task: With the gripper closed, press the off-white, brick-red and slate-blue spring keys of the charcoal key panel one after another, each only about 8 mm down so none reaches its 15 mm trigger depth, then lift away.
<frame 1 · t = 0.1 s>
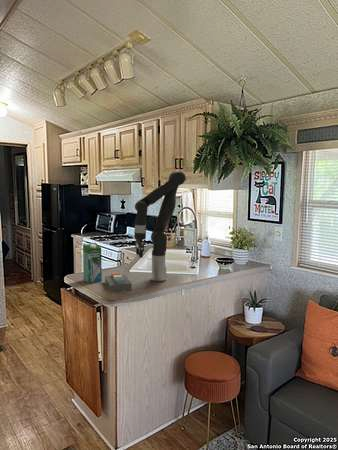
hand: (139, 256, 218), 17 cm above the table, tool pointing down, fingers open, 8 cm apart
key panel: (117, 285, 209), on the table
red key: (115, 275, 215), point 5 cm above the table, slide at 0.0 cm
white key: (117, 278, 209), point 5 cm above the table, slide at 0.0 cm
milk carton: (92, 281, 220), on the table
blue key: (119, 281, 202), point 5 cm above the table, slide at 0.0 cm
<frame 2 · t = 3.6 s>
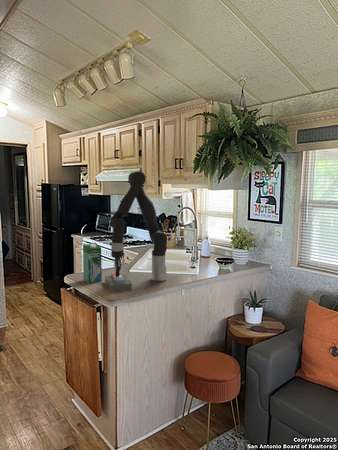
hand: (117, 276, 209), 6 cm above the table, tool pointing down, fingers closed
white key: (117, 278, 209), point 5 cm above the table, slide at 0.2 cm, touching gripper
everything else where it was.
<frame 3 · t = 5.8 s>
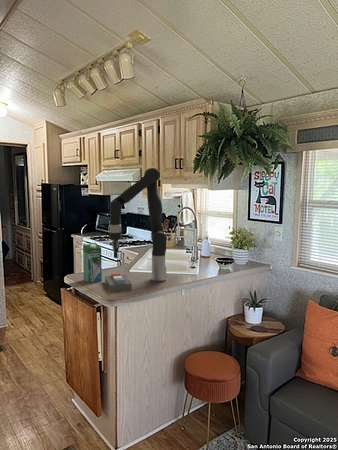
hand: (115, 257, 214), 17 cm above the table, tool pointing down, fingers closed
white key: (117, 279, 209), point 4 cm above the table, slide at 0.7 cm
everything else where it was.
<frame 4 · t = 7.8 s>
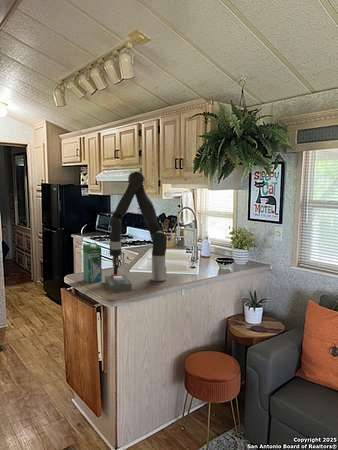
hand: (115, 274, 215), 6 cm above the table, tool pointing down, fingers closed
red key: (115, 276, 216), point 4 cm above the table, slide at 0.6 cm, touching gripper
everything else where it was.
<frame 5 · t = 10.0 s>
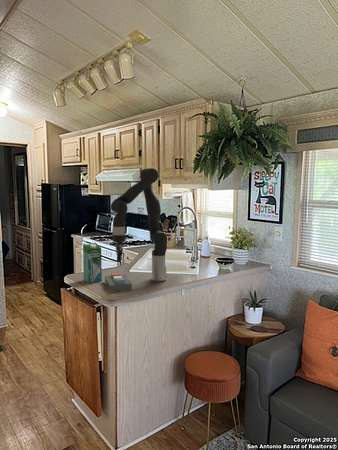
hand: (119, 261, 201), 17 cm above the table, tool pointing down, fingers closed
red key: (115, 275, 216), point 5 cm above the table, slide at 0.4 cm
everything else where it was.
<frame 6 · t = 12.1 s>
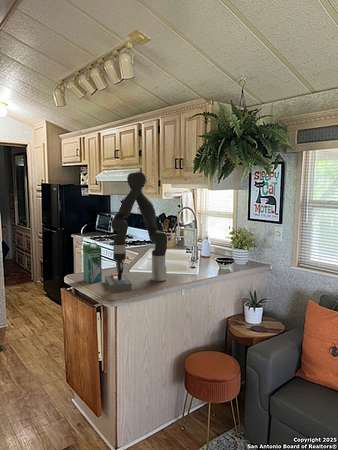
hand: (119, 279, 202), 6 cm above the table, tool pointing down, fingers closed
blue key: (119, 281, 202), point 5 cm above the table, slide at 0.3 cm, touching gripper
everything else where it was.
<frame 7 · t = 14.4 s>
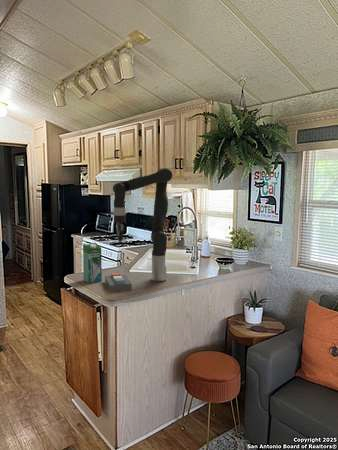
hand: (120, 241, 213), 28 cm above the table, tool pointing down, fingers closed
blue key: (119, 281, 202), point 5 cm above the table, slide at 0.3 cm
everything else where it was.
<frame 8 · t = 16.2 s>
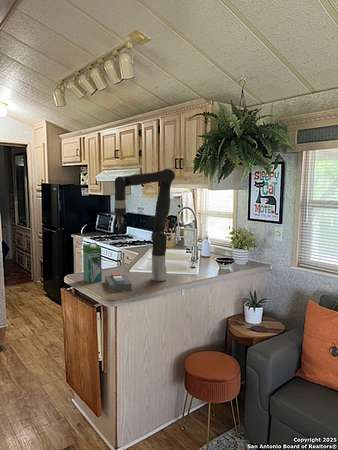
hand: (120, 233, 217), 32 cm above the table, tool pointing down, fingers closed
nothing on the table moved.
at the end: white key slide at 0.7 cm; red key slide at 0.4 cm; blue key slide at 0.3 cm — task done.
